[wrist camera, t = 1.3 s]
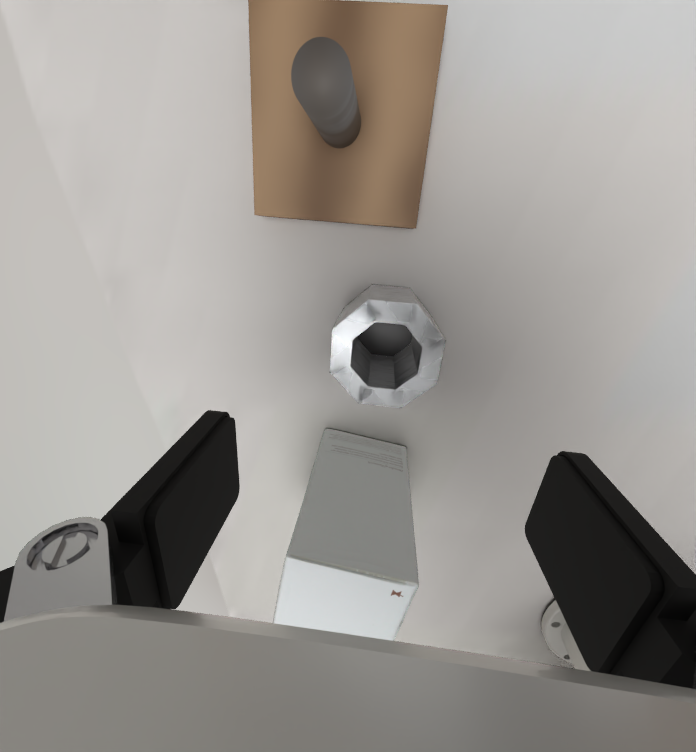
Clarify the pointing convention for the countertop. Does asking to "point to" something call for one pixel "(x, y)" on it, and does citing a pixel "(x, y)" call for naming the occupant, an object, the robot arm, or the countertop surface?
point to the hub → (378, 372)
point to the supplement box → (352, 542)
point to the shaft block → (342, 108)
